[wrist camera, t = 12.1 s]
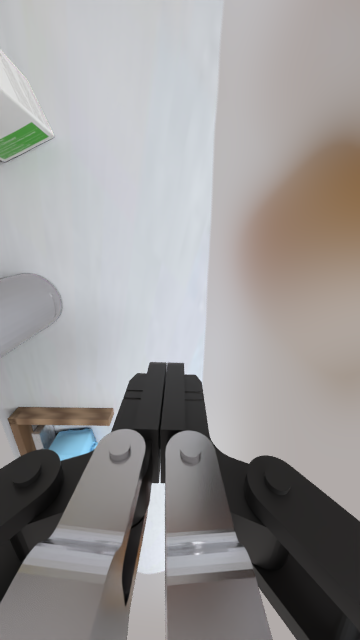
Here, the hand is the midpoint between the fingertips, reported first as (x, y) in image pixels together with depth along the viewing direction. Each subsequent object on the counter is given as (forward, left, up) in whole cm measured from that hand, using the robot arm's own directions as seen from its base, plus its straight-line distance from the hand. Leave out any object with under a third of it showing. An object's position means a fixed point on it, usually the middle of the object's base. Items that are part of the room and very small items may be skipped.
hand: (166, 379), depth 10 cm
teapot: (-22, -36, -27) cm, 50 cm away
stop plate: (-27, -36, -27) cm, 52 cm away
